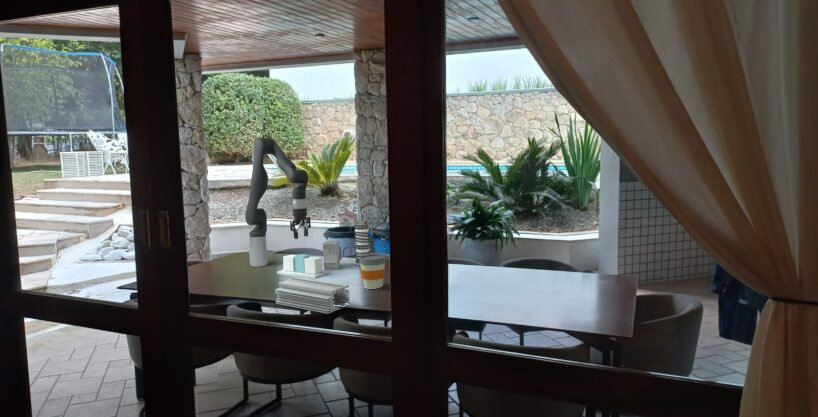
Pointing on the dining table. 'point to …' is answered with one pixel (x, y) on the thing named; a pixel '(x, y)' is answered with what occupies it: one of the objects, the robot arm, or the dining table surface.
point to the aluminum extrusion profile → (312, 294)
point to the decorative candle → (361, 239)
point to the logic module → (300, 262)
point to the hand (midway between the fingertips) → (301, 237)
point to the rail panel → (311, 267)
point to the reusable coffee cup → (372, 270)
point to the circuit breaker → (331, 255)
